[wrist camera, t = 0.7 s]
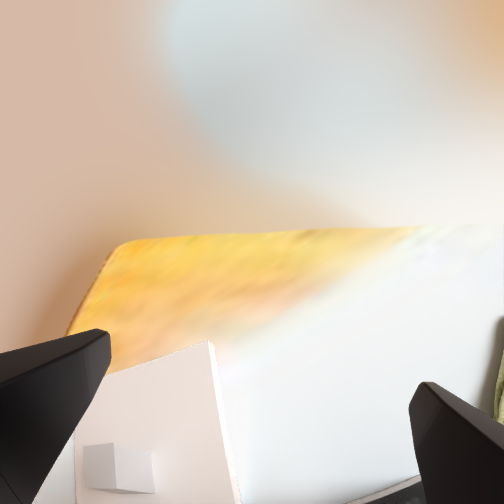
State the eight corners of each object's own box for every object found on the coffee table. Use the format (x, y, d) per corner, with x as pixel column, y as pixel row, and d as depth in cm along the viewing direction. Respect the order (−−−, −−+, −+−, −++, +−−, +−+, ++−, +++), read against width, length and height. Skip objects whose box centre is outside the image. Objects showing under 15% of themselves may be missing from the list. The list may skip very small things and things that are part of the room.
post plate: (262, 586, 11) (225, 607, 8) (94, 569, 14) (49, 568, 10) (213, 344, 26) (179, 315, 22) (84, 387, 28) (47, 368, 25)
